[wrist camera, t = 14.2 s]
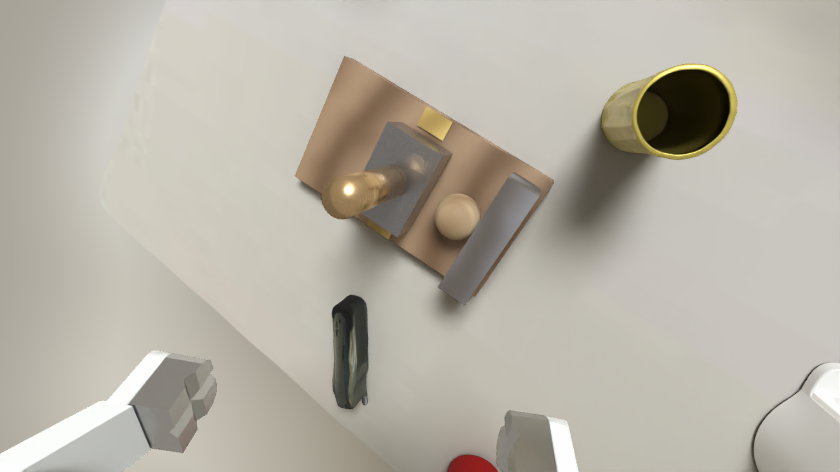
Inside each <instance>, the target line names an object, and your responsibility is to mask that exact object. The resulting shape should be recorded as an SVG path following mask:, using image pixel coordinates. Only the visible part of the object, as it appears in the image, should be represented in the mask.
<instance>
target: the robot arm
mask: <svg viewBox="0 0 840 472" xmlns="http://www.w3.org/2000/svg"><path fill="white" fill-rule="evenodd" d="M212 370H213V366H212V362H211V360H206V359H200V358H195V357H190V356H184V355H179V354H174V353H169V352H163V351H157V350H153V351H152V352H150V353H149V354H147V355H146V356H145V357H144V359H143V360H142V361H141V362H140V363H139V364H138V366H137V367H136V368H135V369H134V370H133V371H132V372H131V374H130V375H129V376H128V377H127V378H126V379H125V380H124V382H123V383H122V384H121V385H120V386H119V387H118V388H117V390H116V391H115V392H114V393H113V394H112V395H111V397H110V398H109V399H108V400H107V401H102V400H101V401H99V402H97V403H95V404H93V405H92V406H90V407H88V408H86V409H84V410H82V411H80V412H78V413H77V414H74V415H72V416H71V417H69V418H67V419H65V420H63V421H61V422H59V423H57V424H56V425H54V426H52V427H50V428H48V429H46V430H44V431H42V432H40V433H39V434H37V435H35V436H33V437H31V438H29V439H27V440H25V441H23V442H22V443H20V444H18V445H16V446H14V447H12V448H10V449H9V450H7V451H5V452H3V453H1V454H0V472H123V471H124V470H126V469H127V468H128V467H130V466H131V465H132V464H134V463H135V462H136V461H138V460H139V459H140V458H141V457H143V456H144V455H145V454H147V453H148V452H149V451H151V449H150V448H152V449H159V450H166V451H173V452H180V453H183V452H184V451H185V449H186V447H187V446H188V444H189V442H190V441H191V439H192V438H193V436H194V434H195V433H196V431H197V420H198V419H200V418H201V417H203V416H205V415H206V414H207V413H208V411H209V409H210V408H211V406H212V404H213V402H214V399H215V396H216V392H217V383H216V379H215V378H214V377H213V376H212V375H211V374H210V373H211V371H212ZM496 456H497V465H498V467H499V468H500V470H501V471H502V472H579V471H578V467H577V462H576V458H575V453H574V449H573V444H572V440H571V435H570V430H569V426H568V423H567V422H566V420H564V419H559V418H552V417H545V416H544V415H537V414H530V413H524V412H517V411H511V410H509V411H508V412H507V413H506V416H505V426H503V427H501V429H500V432H499V435H498V440H497V452H496ZM754 458H755V462H756V466H757V468H758V471H759V472H840V363H826V364H822V365H820V366H818V367H817V368H816V369H815V370H814V371H813V372H812V373H811V374H810V376H809V377H808V379H807V380H806V382H805V384H804V385H803V387H802V389H801V390H800V391H799V392H798V393H797V394H795V395H794V396H793V397H791V398H789V399H788V400H786V401H785V402H783V403H782V404H780V405H779V406H778V407H776V408H775V409H774V410H773V411H772V412H771V413H770V414H769V415H768V416H767V417H766V418H765V420H764V421H763V422H762V424H761V426H760V427H759V429H758V432H757V434H756V437H755V442H754Z"/></svg>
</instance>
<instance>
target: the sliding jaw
mask: <svg viewBox="0 0 840 472" xmlns="http://www.w3.org/2000/svg"><path fill="white" fill-rule="evenodd" d="M452 154H453V153H451V152H450V151H448V150H446V149H445V148H443V147H441V146H440V145H438V144H437V143H435V142H433V141H432V140H430V139H429V138H427V137H425V136H424V135H422V134H420V133H419V132H417V131H416V130H414V129H412V128H411V127H409V126H407V125H406V124H404V123H403V122H387V123H386V125H385V128H384V130H383V132H382V134H381V136H380V138H379V140H378V142H377V144H376V146H375V148H374V150H373V152H372V154H371V157H370V159H369V161H368V163H367V165H366V167H365V169H364V171H363V172H359V173H354V174H350V175H345V176H341V177H337V178H333V179H331V180H329V181H328V182H327V183H326V184H325V185H324V187H323V189H322V193H321V199H322V204H323V206H324V208H325V210H326V211H327V212H328V213H329V214H330V215H331V216H333V217H334V218H337V219H347V218H350V217H352V216H354V215H357V214H359V213H361V214H363V215H364V216H366V217H367V218H369V219H370V220H372V221H373V222H375V223H376V224H378V225H379V226H381V227H382V228H384V229H385V230H387V231H388V232H390V233H391V234H393V235H394V236H396V237H399V236H400V235H402V234H403V233H405V232H406V231H408V230H409V229H410V228H411V226H412V225H413V223H414V221H415V219H416V218H417V216H418V214H419V212H420V211H421V209H422V207H423V205H424V203H425V202H426V200H427V198H428V196H429V195H430V193H431V191H432V189H433V188H434V186H435V184H436V182H437V181H438V179H439V177H440V175H441V173H442V172H443V170H444V168H445V166H446V165H447V163H448V161H449V159H450V158H451V156H452Z"/></svg>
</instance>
